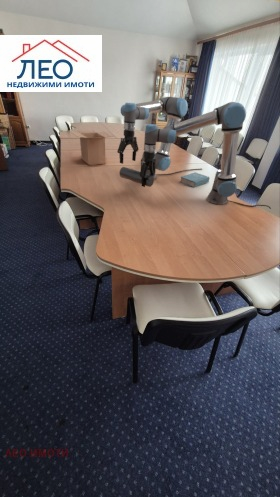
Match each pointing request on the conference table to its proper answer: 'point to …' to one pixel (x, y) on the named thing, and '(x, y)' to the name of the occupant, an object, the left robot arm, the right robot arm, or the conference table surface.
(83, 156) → the box
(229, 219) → the conference table surface
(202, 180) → the book
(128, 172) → the rod
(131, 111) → the left robot arm
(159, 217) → the conference table surface
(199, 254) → the conference table surface
